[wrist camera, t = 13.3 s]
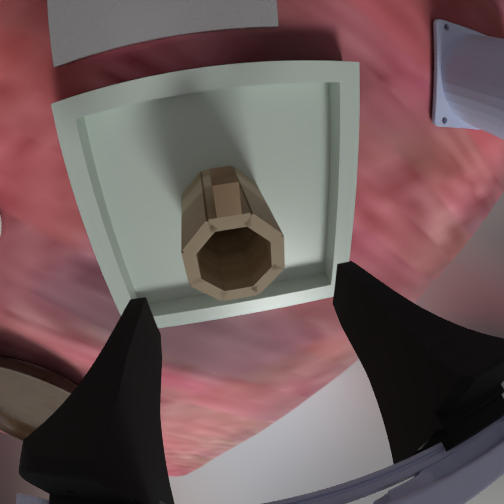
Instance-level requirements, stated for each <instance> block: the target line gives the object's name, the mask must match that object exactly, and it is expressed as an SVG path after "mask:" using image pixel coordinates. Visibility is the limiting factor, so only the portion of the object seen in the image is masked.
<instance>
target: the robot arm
mask: <svg viewBox="0 0 504 504" xmlns="http://www.w3.org/2000/svg"><path fill="white" fill-rule="evenodd" d="M444 25H445V27H446V29H445V28H444ZM433 29H434V90H433V109H432V122H433V124H434V125H436V126H439V127H455V128H467V129H478V130H484V131H486V132H488V133H490V134H493V135H495V136H497V137H499V138H501V139H503V140H504V39H503V38H497V37H490V36H487V35H484V34H482V33H479V32H477V31H474V30H471V29H469V28H466V27H463V26H460V25H457V24H454V23H451V22H448V21H445V20H442V19H436V20H434V22H433ZM443 117H444V120H443V122H442V119H443ZM333 305H334V308H335V311H336V313H337V316H338V318H339V321H340V324H341V326H342V328H343V330H344V332H345V333H346V335H347V337H348V339H349V341H350V343H351V345H352V346H353V348H354V350H355V352H356V354H357V356H358V358H359V360H360V361H361V363H362V365H363V367H364V369H365V371H366V373H367V375H368V378H369V380H370V383H371V386H372V388H373V391H374V394H375V397H376V399H377V402H378V405H379V408H380V411H381V414H382V418H383V421H384V425H385V428H386V432H387V436H388V440H389V444H390V449H391V453H392V458H393V463H394V465H391V466H389V467H387V468H384V469H382V470H379V471H376V472H374V473H371V474H368V475H366V476H363V477H361V478H358V479H355V480H352V481H349V482H346V483H343V484H339V485H336V486H333V487H330V488H326V489H323V490H319V491H316V492H312V493H308V494H304V495H300V496H296V497H292V498H288V499H283V500H278V501H273V502H269V503H264V504H345V503H349V502H352V501H354V500H357V499H360V498H363V497H366V496H368V495H371V494H373V493H376V492H379V491H381V490H384V489H386V488H388V487H391V486H393V485H395V484H397V483H400V482H402V481H404V480H407V479H409V478H411V477H413V476H414V478H412V479H411V480H409V481H407V482H405V483H403V484H401V485H399V486H397V487H395V488H393V489H391V490H389V491H388V493H387V494H386V495H384V496H383V497H381V498H379V499H378V500H376V501H374V503H373V504H465V503H466V502H467V501H469V500H470V499H472V498H473V497H475V496H476V495H477V494H479V493H480V492H481V491H483V490H484V489H485V488H487V487H488V486H489V485H490V484H492V483H493V482H494V481H496V480H497V479H498V478H499V477H500V476H502V475H503V474H504V398H503V397H502V395H501V394H503V393H504V389H503V387H502V386H501V383H502V382H503V381H504V339H503V338H499V337H494V336H490V335H486V334H483V333H480V332H476V331H473V330H470V329H467V328H465V327H462V326H459V325H457V324H454V323H452V322H450V321H447V320H445V319H443V318H441V317H439V316H437V315H435V314H433V313H431V312H429V311H427V310H425V309H423V308H421V307H419V306H418V305H416V304H414V303H413V302H411V301H409V300H408V299H406V298H405V297H403V296H401V295H400V294H398V293H397V292H395V291H394V290H392V289H391V288H389V287H388V286H386V285H385V284H384V283H382V282H381V281H379V280H378V279H376V278H375V277H374V276H372V275H371V274H369V273H368V272H367V271H365V270H364V269H362V268H361V267H360V266H358V265H357V264H355V263H354V262H352V261H350V262H345V263H339V264H337V270H336V280H335V289H334V297H333ZM161 370H162V350H161V335H160V332H159V330H158V327H157V325H156V322H155V320H154V317H153V314H152V312H151V309H150V307H149V304H148V301H147V299H146V297H142V298H136V299H130V301H129V302H128V304H127V306H126V308H125V310H124V311H123V313H122V315H121V317H120V319H119V321H118V323H117V325H116V326H115V328H114V330H113V332H112V334H111V335H110V337H109V339H108V341H107V342H106V344H105V346H104V347H103V349H102V351H101V352H100V354H99V356H98V357H97V359H96V360H95V362H94V364H93V365H92V367H91V368H90V370H89V371H88V372H87V374H86V375H85V377H84V378H83V379H82V381H81V382H80V383H79V385H78V386H77V387H76V388H75V390H74V391H73V392H72V393H71V394H70V395H69V397H68V398H67V399H66V400H65V401H64V402H63V404H62V405H61V406H60V407H59V408H58V409H57V410H56V411H55V412H54V413H53V414H52V415H51V416H50V417H49V418H48V419H47V420H46V421H45V422H44V423H43V424H41V425H40V426H39V427H38V428H37V429H36V430H34V431H33V432H32V433H31V434H30V435H29V436H27V437H26V438H25V439H24V440H23V445H22V451H21V458H20V465H19V474H20V476H21V477H22V478H23V479H25V480H26V481H27V482H29V483H31V484H33V485H35V486H36V487H38V488H40V489H42V490H44V491H45V492H48V493H49V494H50V497H49V500H46V499H43V498H39V497H35V496H30V495H26V494H22V493H18V494H17V502H16V504H174V500H173V496H172V491H171V487H170V483H169V477H168V472H167V466H166V461H165V454H164V447H163V439H162V430H161V420H160V395H161Z"/></svg>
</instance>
